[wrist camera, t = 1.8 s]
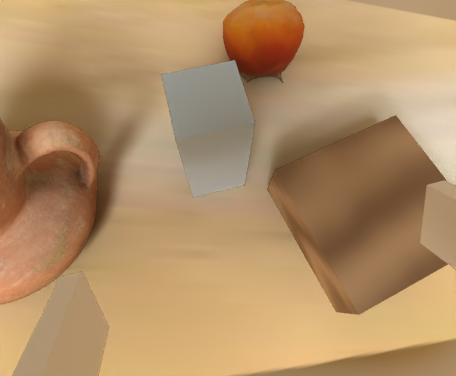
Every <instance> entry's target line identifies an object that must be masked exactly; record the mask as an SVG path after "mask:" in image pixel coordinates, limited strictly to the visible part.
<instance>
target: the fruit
mask: <svg viewBox="0 0 456 376" xmlns="http://www.w3.org/2000/svg"><path fill="white" fill-rule="evenodd" d="M303 32H304V23H303V20H302V17H301V14H300V13H299V12H298V11H297V9H296V7H295V6H294V5H292V4H291V3H289V2H288V1H284V0H249V1H246V2H244V3H243V4H241V5H240V6H239V7H237V8H236V9H235V10H233V11H232V12H231V13H230V14H228V15H227V16H226V18H225V20H224V21H223V39H224V44H225V48H226V51H227V54H228V56H229V58H230V60H231V61H233V60H235V62H236V65H237V68H238V71H239V73H240V74H241V75H243V76H244V77H245V79H246V80H247V83H248V81H249V80H251V79H253V78H256V77H260V76H275V77H277V78H280V80H281V81H282V78H281V72H283V71H284V70H285V69H286V67H287V66H288V65H289V63H290V62H291V61H292V60H293V58H294V56H295V54H296V52H297V50H298V48H299V46H300V44H301V41H302V38H303ZM282 83H283V81H282Z"/></svg>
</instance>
